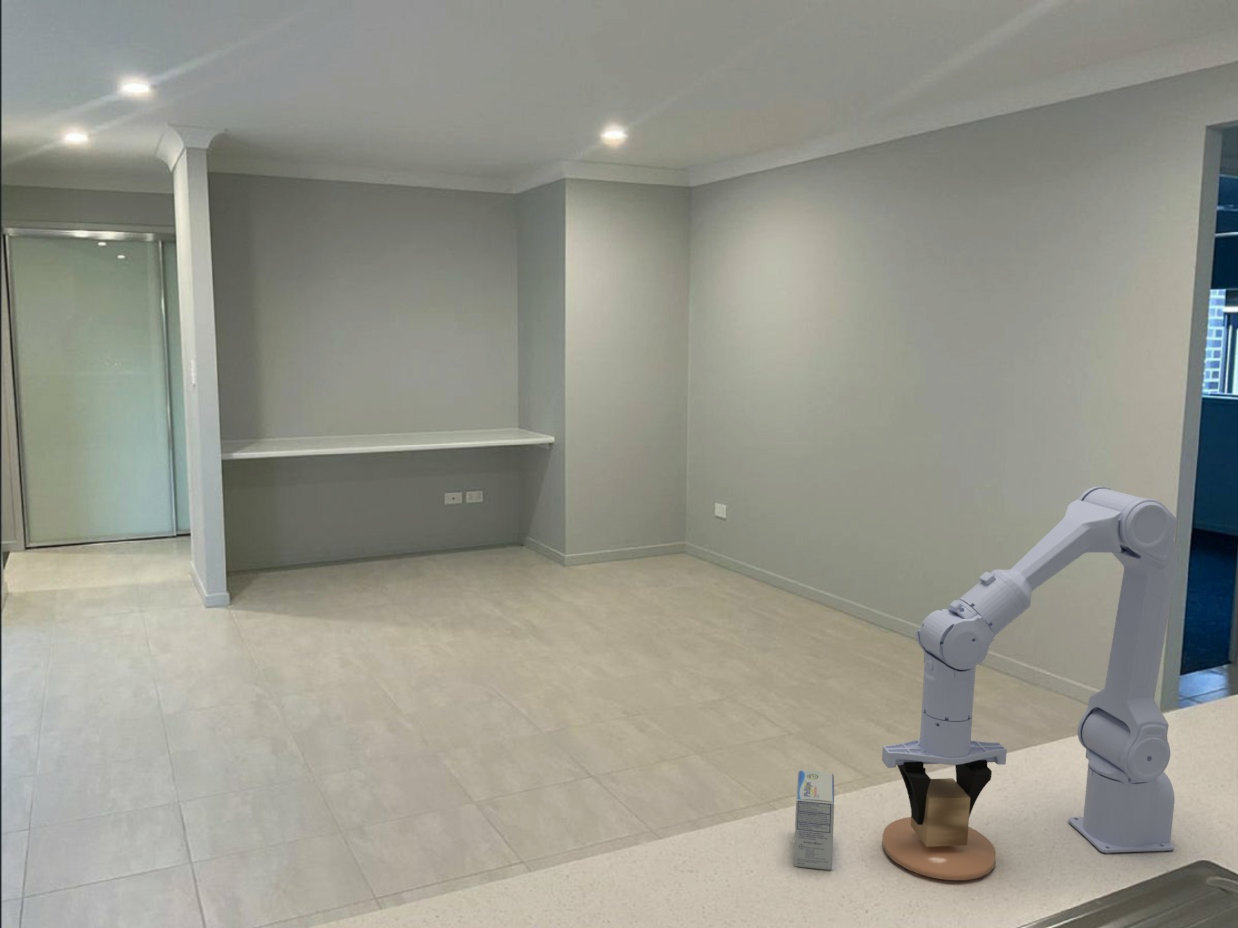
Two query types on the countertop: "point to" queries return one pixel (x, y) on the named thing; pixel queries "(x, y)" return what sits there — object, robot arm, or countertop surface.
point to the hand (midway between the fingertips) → (939, 819)
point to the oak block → (944, 815)
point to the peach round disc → (938, 853)
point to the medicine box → (814, 820)
